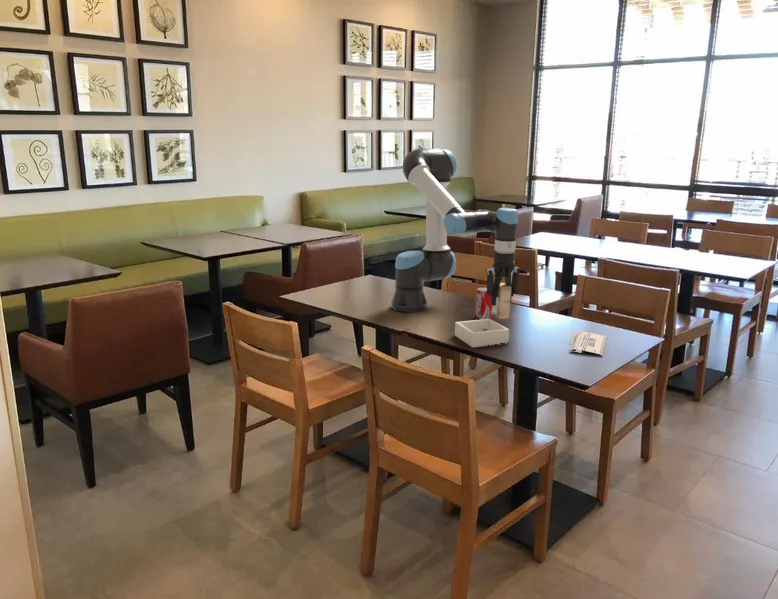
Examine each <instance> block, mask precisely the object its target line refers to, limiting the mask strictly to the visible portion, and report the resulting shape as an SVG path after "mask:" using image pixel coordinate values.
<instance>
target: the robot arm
mask: <svg viewBox="0 0 778 599" xmlns="http://www.w3.org/2000/svg"><path fill="white" fill-rule="evenodd" d="M457 165H458V164H457V160H456V157H455V155H454V154H453V152H451V150H449V149H446V148H416V149H413V150H410V152H408V153H407V155H406V156H405V157H404V159H403V161H402V173H403V175H404V178H405V179H406V180H407V182H408V183H409V184H410V185H411V186H414V187H416V188H417V189H418V190H419V191H420V193H421V194H422V195H423V196H424V198H425V203H426V204H425V209H426V210H425V215H426V216H425V217H426V218H425V219H426V220H425V223H426V225H425V226H426V227H425V228H426V231H425V232H426V233H425V234H426V235H425V236H426V240H425V241H426V242H425V243H426V244H425V245H424V247H423V248H422V251H420V250H407V251H403V252H401V253H398V255H397V256H396V257H395V263H394V267H395V287H394V288H395V290H394V293H393V296H392V300H391V302H390V308H391V307H392V308H393V309H395V310H398V311H397V312H399V311H404V312H403V313H420V312H423V311H426V310H427V309H428V301H427V297H426V293H425V291H424V284H425V282H426V283H427V282H430V281H431V282H432V281H438V280H439V281H441V280H444V279H449V278H451V277H452V276H453V274H454V273H455V270H456V268H457V259H456V257H455V254H454V253H453V252H452V251H451V247H450V246H449V245H448V244H447V243H448V241H447V240H448V239H447V238H448V236H447V234H449V235H457V236H458V235H464V234H473V233H481V232H487V233H488V232H490V233H493V234H495V236H494V252H493V265H492V267H491V268H486V270H485V272H486V275H487V276H486V288H487V294H488V295H490V296H491V305H493V309H492V313H494V314H498V300H499V297H497V294H498V290H499V286H500V283H502V282H501V281H502V280H503V278H504V283H505V284H506V285H509V286H511V299H510V305H511V304H512V300H513V297H514V296H515V295H517V293H518V288H519V287H518V286H519V278H520V277H519V276H520V274H521V270H522V269H521V268H520V267H518V266H516V265H515V261H516V260H515V259H516V252H515V251H516V247H517V234H518V224H519V219H518V217H519V216H518V215H519V211H518V210H517V209H516V208H510V207H499V208H498V209H497V210H496V211H492V210H488V209H477V210H476V211H468V212H466V211H465V210H464V209H463V207H462V206H461V205H460V204H459V203H458V202H457V201H456V200H455V199H454V197H453V196H452V195H451V194H450V193H449V192H448V186H449V185H450V184H451V180H452V179H451V178H453V177H455V175H456V172H457ZM392 308H391V309H392ZM393 309H392V310H393ZM395 310H394V311H395ZM419 311H420V312H419Z"/></svg>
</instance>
